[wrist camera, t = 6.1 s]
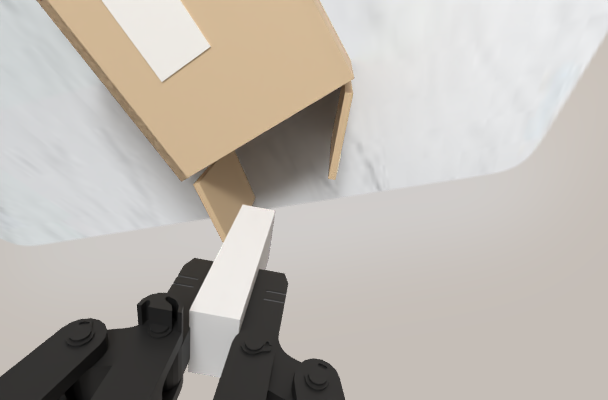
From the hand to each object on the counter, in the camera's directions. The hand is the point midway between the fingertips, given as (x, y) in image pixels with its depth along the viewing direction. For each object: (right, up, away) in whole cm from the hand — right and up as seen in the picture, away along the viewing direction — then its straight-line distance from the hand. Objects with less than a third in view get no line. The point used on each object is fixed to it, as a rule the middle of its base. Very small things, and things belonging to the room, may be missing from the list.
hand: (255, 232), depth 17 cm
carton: (-4, +17, +13) cm, 22 cm away
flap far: (-4, +4, +19) cm, 20 cm away
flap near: (+5, +10, +15) cm, 19 cm away
